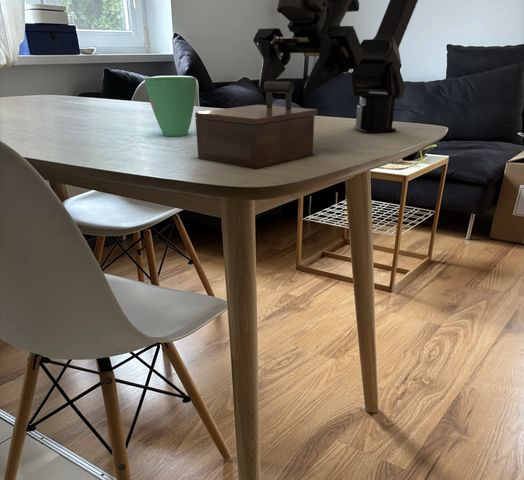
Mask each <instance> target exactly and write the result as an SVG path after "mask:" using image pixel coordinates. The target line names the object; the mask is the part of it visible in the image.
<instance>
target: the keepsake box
mask: <svg viewBox="0 0 524 480" xmlns="http://www.w3.org/2000/svg"><path fill="white" fill-rule="evenodd" d="M314 130H315V115H314V116H308V117H302V118H296V119H290V120H284V121H278V122H271V123H265V124H259V125H251V124H243V123H234V122H225V121H216V120H207V119H199V118H195V131H196V132H195V133H196V146H197V158H198V159H200V160H206V161H212V162H218V163H222V164H229V165H234V166H240V167H246V168H251V169H256V170H257V169H261V168H264V167H270V166H273V165H279V164H281V163H285V162H289V161H294V160H298V159H302V158H307V157H310V156H313V155H314V135H315V134H314V133H315V131H314Z"/></svg>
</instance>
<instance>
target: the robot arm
mask: <svg viewBox="0 0 524 480" xmlns="http://www.w3.org/2000/svg"><path fill="white" fill-rule="evenodd" d="M418 3H419V0H389V2H388V4H387V6H386V9H385V11H384V14H383V16H382V19H381V21H380V24H379V27H378V28H377V31H376V34H375V36H374V37H373V38H371V39H370V38H369V39H363V40H362V41H361V42H360V39H359V37H358V34H357V32H356V29H355V27H354V25H341V23H342V21H343V19H344V17H345V15H346V14H347V13H351V12H359V10H360V2H359V0H278V2H277V5H276V7H275V9H276V12H277V13H279V14H281V15H282V16H284V18H286V19H287V20H288V21H289V22H288V24H287V28H288V31H289V32H290V33H293V35H292V36H284V35H283V33H282V30H281V29H280V28H279V27H277V28H276V27H275V28H273V27H272V28H271V27H269V28H258V30H257V31H256V33H255V35H254V37H253V40H252V41H253V43H254V45H255V46H256V48H257V50H258V52H259V53H260V55H261V57H262V61H261V63H262V64H261V70H260V77H259V83H258V84H259V85H258V89H259V90H260V92H262V93H264V92H266V91H265V90H264V83H265V82H266V81H277V79H278V78H279V77H280V76H281V75H282V74H283V73H284V72H285V71H286V66H287V65H288V63H289V62H290V60H291V55H292V54H303V55H304V57H317V60H316V61H315V63H314V65H313V68H312V70H311V72H310V73H309V75H308V77H307V80H306V82H305V84H304V86H303V93H304V95H306V96H307V95H310V94H311V93H313V92H314V91H316V90H318V89H319V88H321V87H322V86H323V85H325V84H327V83H328V82H330V81H332V80H333V79H335V78H337V77H338V76H340V75H343V74H347V73H349V71H350V70H351V74H350V75H351V82H352V84H351V85H352V94H353V97H359V104H357V106H356V115H355V116H356V119H355V125H354V126H353V128H354V130H357V131H361V132H363V133H383V132H396V130H397V128H395V127H393V124H394V123H393V122H394V113H395V105H396V99H401V98H403V95H404V92H405V88H406V84H405V81H404V79H403V76H402V72H401V71H400V68H401V66H402V60H401V55H400V45H401V44H402V41H403V38H404V36H405V33H406V31H407V30H408V29H407V28H408V26H409V24H410V21H411V18H412V16H413V14H414V11H415V9H416V6H417V4H418ZM370 90H380V91H370ZM381 90H383V91H381Z"/></svg>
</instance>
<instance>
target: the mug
mask: <svg viewBox="0 0 524 480" xmlns="http://www.w3.org/2000/svg"><path fill="white" fill-rule="evenodd" d="M144 85H145V88H146V92H147V96H148V99H149V102H150V103H149V104H150V105H151V109H152V111H153V115H154V117H155V119H156V121H157V124H158V126H159V129H160V131H161V132H162V135H163V136H166V137H184V136H188V134H189V131H190V127H191V123H192V119H193V113H194V109H195V101H196V92H197V91H196V90H197V78H196V77H194V76H160V77H159V76H157V77H146V78H144Z"/></svg>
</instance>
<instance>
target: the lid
mask: <svg viewBox="0 0 524 480" xmlns="http://www.w3.org/2000/svg"><path fill="white" fill-rule="evenodd" d="M264 90H265V91H264V92H266V96H265V97H266V104H252V105H243V106H236V107H229V108H220V109H211V110H205V111H196V112H195V113H194V118H195V119H196V118H199V119H207V120H216V121H225V122H234V123H243V124H251V125H259V124H265V123H271V122H278V121H284V120H290V119H296V118H302V117H308V116H314V117H315V116H318V113H319V112H318V111H319V110H318V109H316V108H303V107H292V97H293V93H294V91H295V84H294V82H293V81H284V80H283V81H282V80H281V81H279V80H275V81H266V82H265V83H264ZM273 93H276V94H285V106H282V105H281V106H279V105H273Z"/></svg>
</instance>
